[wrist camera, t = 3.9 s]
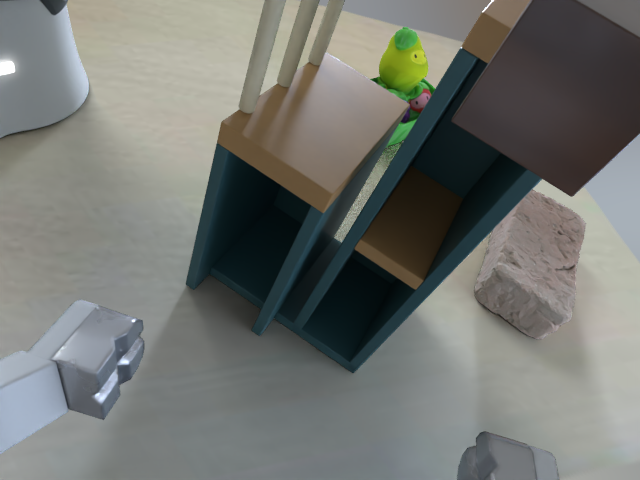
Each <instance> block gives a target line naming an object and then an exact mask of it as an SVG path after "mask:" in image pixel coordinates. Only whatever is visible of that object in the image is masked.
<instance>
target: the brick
mask: <svg viewBox="0 0 640 480" xmlns="http://www.w3.org/2000/svg"><path fill="white" fill-rule="evenodd" d="M585 227H586V223H585V221H584V220H583V219H582V218H581V217H580V216H579V215H578V214H576V213H575V212H573V211H572V210H571V209H569V208H567V207H565V206H564V205H562V204H560V203H558V202H556V201H555V200H553V199H552V198H549V197H547V196H545V195H543V194H541V193H540V192H536V191H534V190H533V189H532V190H531V191H530V192H529V193H528V194H527V195H526V196H525V197H524V198H523V199H522V200H521V201H520V202H519V203H518V204H517V205H516V206H515V207H514V209H513V210H512V211H511V212H510V213H509V214H508V215H507V216H506V217H505V218H504V219H503V220H502V221H501V222H500V223H499V224H498V225H497V226H496V227H495V228H494V229H493V232H492V235H491V237H490V240H489V245H488V248H487V250H486V255H485V258H484V261H483V267H482V268H481V270H480V273H479V275H478V277H477V283H476V285H475V290H474V293H475V297H476V299H477V300H478V301H479V302H480V303H481V304H483V305H484V306H485V307H487V308H488V309H489V310H491V311H492V312H493V313H497V314H500V315H501V316H502V317H503V318H504V319H505V320H507V321H508V322H509V323H511V324H512V325H514V326H515V327H517V328H518V329H519V330H520V331H522V332H523V333H525V334H527V335H528V336H531V337H533V338H536V339H543V338H544V337H546V335H547V334H550V333H553V332H556V331H557V329H558V327H559V326H561V325H562V324H564V323H566V322H568V321H570V319H571V317H572V311H573V307H574V302H575V295H576V285H575V282H576V277H575V274H576V265H577V262H578V260H579V255H580V253H579V252H580V250H581V245H582V243H583V239H584V234H585Z"/></svg>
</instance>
